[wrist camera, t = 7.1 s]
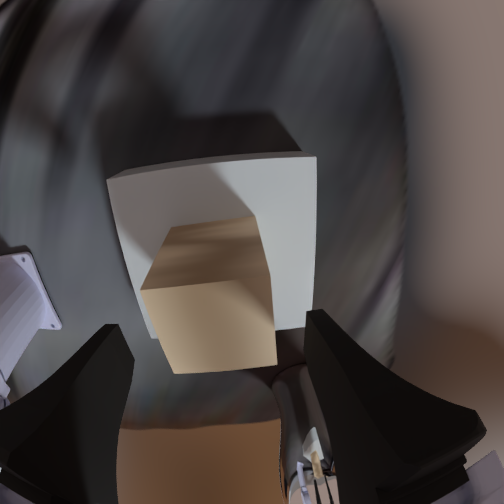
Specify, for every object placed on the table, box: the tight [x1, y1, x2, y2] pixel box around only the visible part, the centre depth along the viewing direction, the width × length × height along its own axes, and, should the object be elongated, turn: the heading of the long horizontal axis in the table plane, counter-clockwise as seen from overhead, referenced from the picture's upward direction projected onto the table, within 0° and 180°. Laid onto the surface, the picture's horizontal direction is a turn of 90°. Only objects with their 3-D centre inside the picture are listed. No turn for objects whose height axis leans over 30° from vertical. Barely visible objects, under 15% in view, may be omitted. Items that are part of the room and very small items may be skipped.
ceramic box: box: [107, 151, 317, 338], centre depth 17 cm, size 11×11×4 cm
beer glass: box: [272, 363, 339, 504], centre depth 19 cm, size 7×7×15 cm
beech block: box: [140, 216, 277, 374], centre depth 13 cm, size 4×4×6 cm
